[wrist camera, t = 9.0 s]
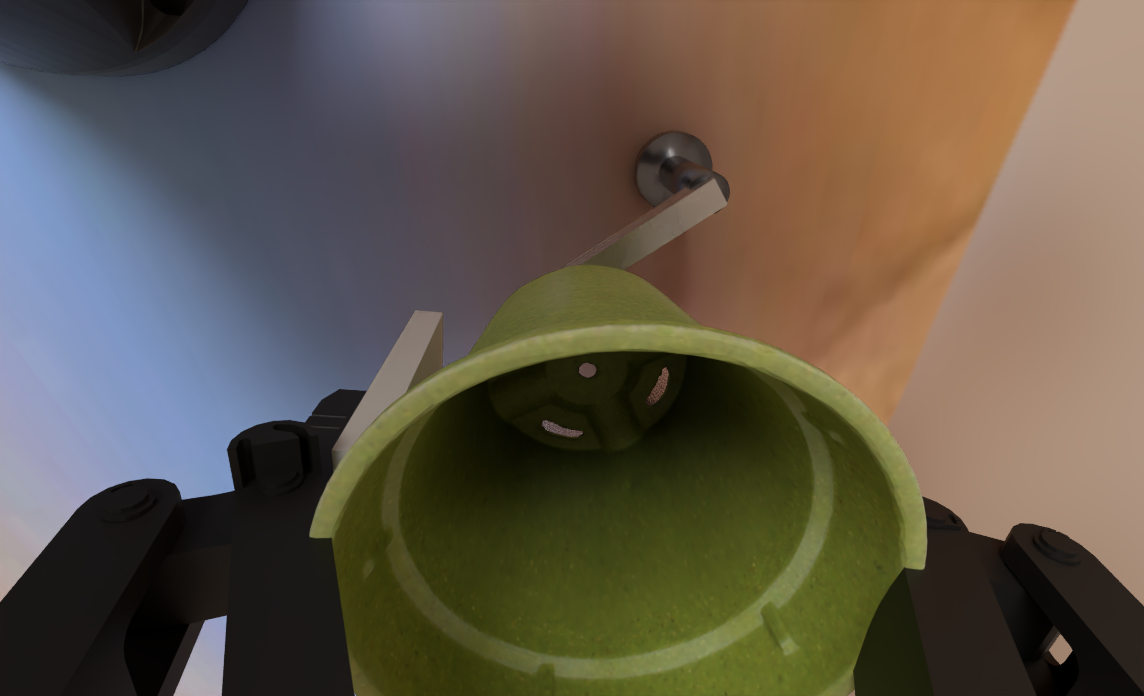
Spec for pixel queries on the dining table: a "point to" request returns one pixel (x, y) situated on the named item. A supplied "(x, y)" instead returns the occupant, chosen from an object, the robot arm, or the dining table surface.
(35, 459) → the dining table surface
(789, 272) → the dining table surface
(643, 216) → the zigzag bar on posts
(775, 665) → the plant pot
